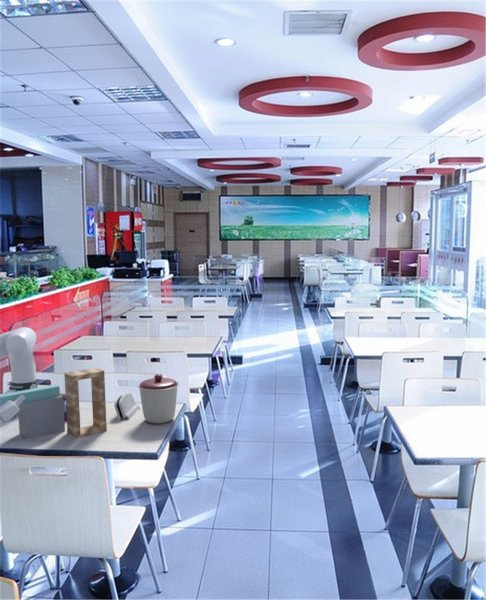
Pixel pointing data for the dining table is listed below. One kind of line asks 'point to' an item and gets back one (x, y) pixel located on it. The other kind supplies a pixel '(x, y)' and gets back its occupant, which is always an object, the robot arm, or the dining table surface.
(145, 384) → the canister
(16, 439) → the dining table surface
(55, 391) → the teal bar
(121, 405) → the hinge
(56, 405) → the low step
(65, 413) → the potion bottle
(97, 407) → the stand
